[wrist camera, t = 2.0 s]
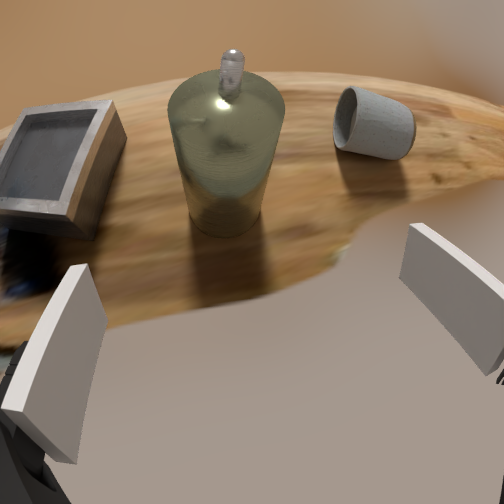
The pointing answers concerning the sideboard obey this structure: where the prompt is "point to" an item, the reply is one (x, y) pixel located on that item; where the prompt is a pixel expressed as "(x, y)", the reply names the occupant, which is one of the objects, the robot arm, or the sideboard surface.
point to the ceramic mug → (373, 125)
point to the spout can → (225, 144)
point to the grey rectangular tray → (60, 168)
